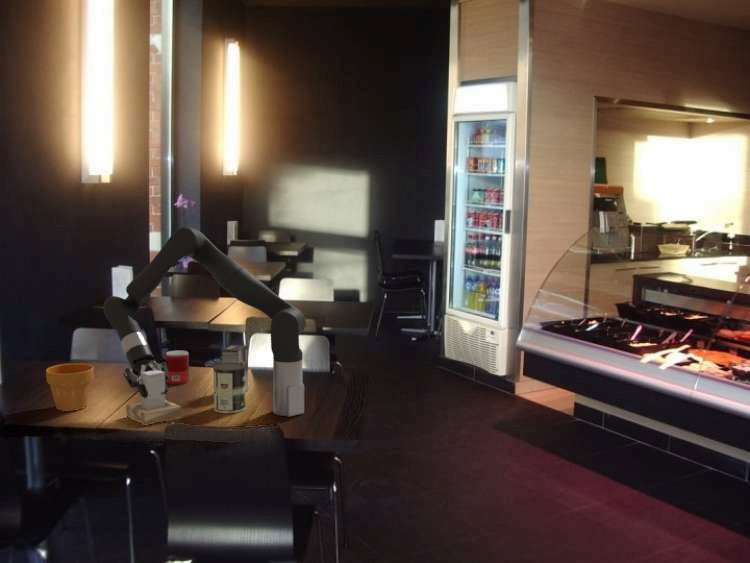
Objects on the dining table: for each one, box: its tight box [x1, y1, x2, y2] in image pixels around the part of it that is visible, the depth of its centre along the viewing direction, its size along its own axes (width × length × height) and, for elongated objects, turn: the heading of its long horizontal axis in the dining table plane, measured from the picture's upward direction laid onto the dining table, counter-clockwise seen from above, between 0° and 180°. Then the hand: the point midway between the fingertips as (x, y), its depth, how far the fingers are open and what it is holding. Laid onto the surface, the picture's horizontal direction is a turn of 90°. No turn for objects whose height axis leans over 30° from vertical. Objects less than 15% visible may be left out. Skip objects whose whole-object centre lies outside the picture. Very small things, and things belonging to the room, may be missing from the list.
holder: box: [125, 399, 182, 424], centre depth 249 cm, size 12×12×4 cm
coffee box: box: [220, 344, 249, 393], centre depth 278 cm, size 9×6×16 cm
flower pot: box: [45, 362, 95, 410], centre depth 257 cm, size 14×14×13 cm
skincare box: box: [141, 369, 166, 411], centre depth 249 cm, size 6×4×12 cm
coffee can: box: [212, 362, 247, 414], centre depth 259 cm, size 10×10×14 cm
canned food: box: [165, 349, 190, 386], centre depth 291 cm, size 8×8×11 cm
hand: (156, 394), depth 248 cm, fingers closed on skincare box, 6 cm apart
